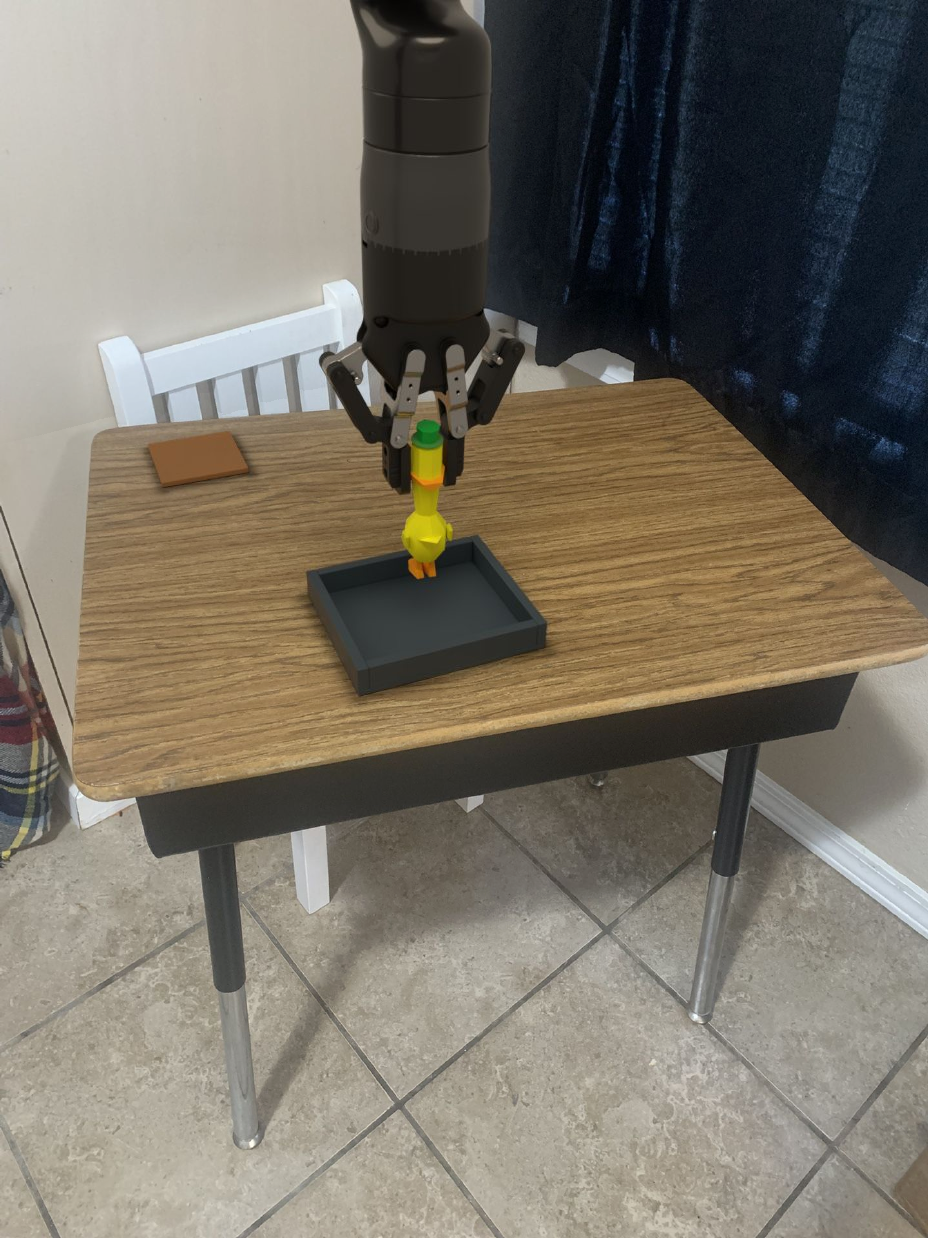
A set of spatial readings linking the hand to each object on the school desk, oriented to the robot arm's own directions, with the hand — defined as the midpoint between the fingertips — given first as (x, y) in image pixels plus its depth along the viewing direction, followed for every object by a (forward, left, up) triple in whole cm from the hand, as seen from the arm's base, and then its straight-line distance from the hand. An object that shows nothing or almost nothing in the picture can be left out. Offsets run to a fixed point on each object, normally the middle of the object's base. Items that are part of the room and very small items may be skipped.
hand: (422, 483), depth 67 cm
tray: (0, 0, -12) cm, 12 cm away
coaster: (-11, +31, -12) cm, 35 cm away
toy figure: (0, 0, -7) cm, 7 cm away
